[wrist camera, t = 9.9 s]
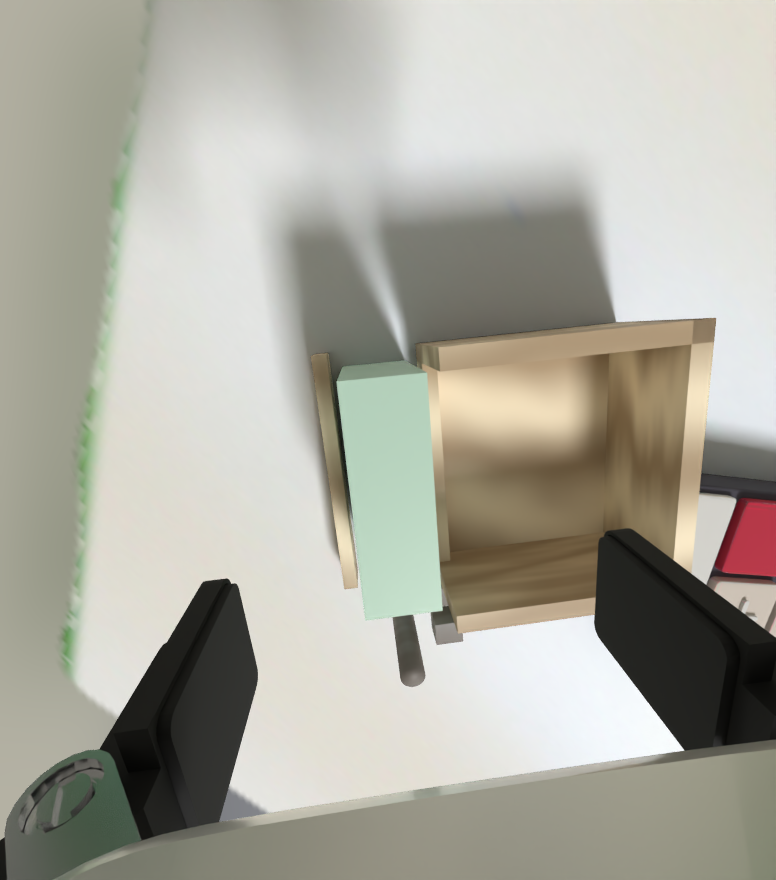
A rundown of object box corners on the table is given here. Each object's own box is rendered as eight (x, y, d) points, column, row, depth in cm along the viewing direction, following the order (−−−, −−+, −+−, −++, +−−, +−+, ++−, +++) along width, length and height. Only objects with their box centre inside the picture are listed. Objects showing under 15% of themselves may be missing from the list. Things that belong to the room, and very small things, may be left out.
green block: (342, 366, 24) (336, 381, 16) (404, 360, 24) (427, 372, 16) (363, 544, 27) (366, 629, 19) (418, 538, 27) (443, 619, 19)
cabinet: (314, 354, 24) (294, 364, 16) (616, 322, 24) (737, 316, 17) (348, 594, 28) (345, 696, 20) (607, 560, 28) (701, 645, 21)
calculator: (828, 660, 28) (629, 653, 26) (764, 617, 32) (587, 608, 30) (899, 509, 25) (684, 486, 23) (819, 484, 29) (630, 462, 27)
